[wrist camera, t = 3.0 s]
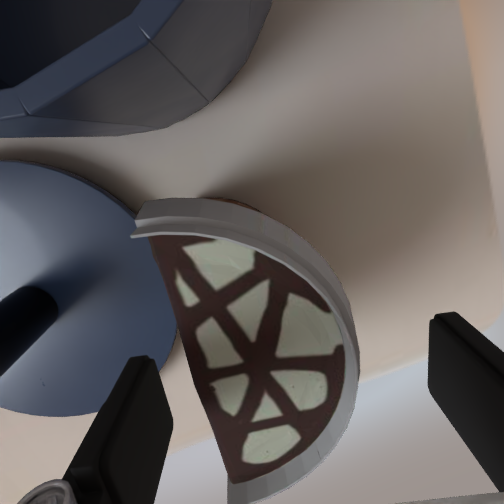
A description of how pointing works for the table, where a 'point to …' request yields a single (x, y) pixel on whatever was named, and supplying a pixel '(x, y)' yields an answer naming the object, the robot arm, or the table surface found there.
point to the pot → (117, 62)
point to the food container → (257, 337)
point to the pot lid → (72, 292)
